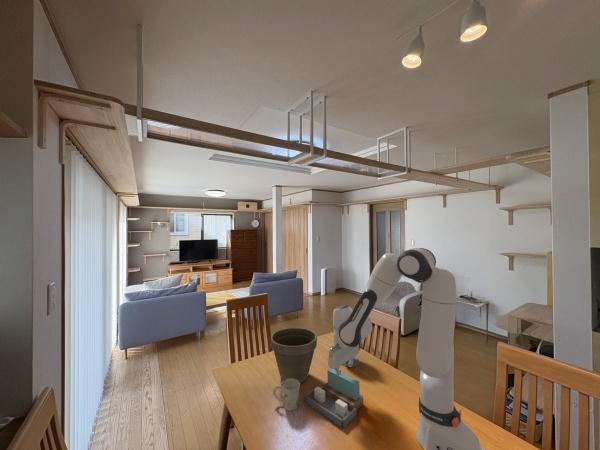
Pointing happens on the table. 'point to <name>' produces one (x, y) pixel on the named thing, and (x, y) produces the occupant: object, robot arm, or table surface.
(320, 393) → the tile
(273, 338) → the plant pot
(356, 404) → the board
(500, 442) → the table surface
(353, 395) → the teal rectangular block
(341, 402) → the tile
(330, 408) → the tray
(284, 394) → the mug
